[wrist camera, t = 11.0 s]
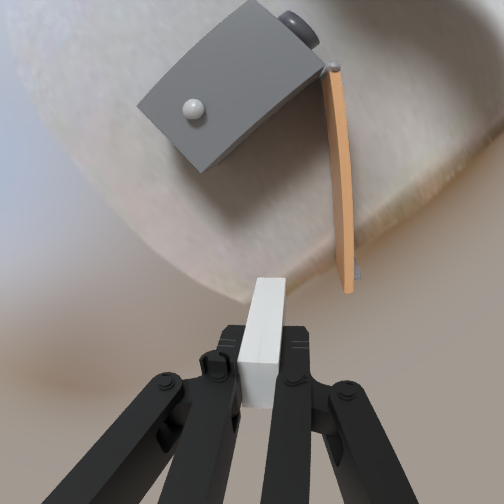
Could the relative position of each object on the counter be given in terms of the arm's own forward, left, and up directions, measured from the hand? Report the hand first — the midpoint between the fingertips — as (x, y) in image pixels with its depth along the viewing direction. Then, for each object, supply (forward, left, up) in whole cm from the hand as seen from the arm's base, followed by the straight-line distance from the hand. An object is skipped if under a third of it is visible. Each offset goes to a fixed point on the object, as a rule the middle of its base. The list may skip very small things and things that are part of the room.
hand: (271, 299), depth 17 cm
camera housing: (-5, -14, -23) cm, 27 cm away
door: (-8, +1, -23) cm, 24 cm away
